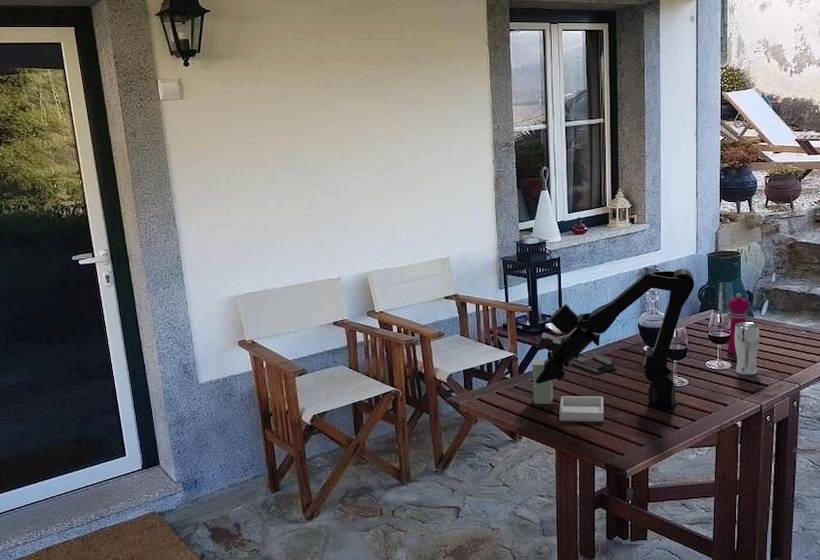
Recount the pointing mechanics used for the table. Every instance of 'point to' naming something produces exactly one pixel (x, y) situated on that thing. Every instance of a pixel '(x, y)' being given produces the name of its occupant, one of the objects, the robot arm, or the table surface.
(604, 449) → the table surface
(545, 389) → the handle block
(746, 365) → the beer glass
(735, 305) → the pepper mill
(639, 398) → the table surface
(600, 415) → the tray
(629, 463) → the table surface
